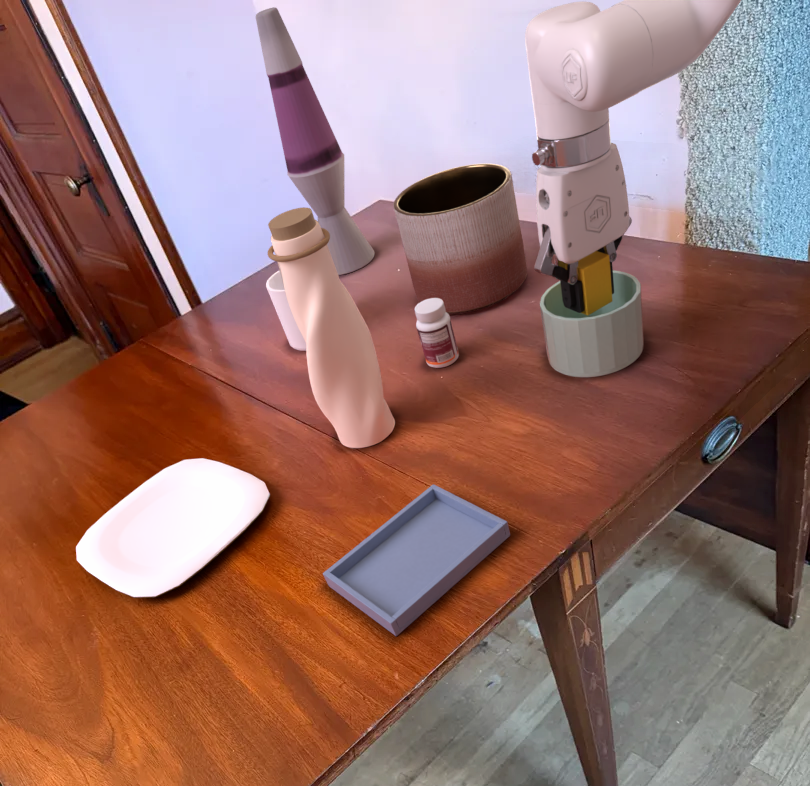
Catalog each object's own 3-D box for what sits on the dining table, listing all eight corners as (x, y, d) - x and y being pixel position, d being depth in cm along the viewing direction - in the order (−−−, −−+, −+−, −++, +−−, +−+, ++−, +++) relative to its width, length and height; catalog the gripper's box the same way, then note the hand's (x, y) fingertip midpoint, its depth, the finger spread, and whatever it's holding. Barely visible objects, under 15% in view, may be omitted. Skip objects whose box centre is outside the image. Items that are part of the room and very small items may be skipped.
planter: (512, 251, 124) (496, 152, 114) (542, 294, 111) (526, 187, 100) (410, 284, 125) (385, 188, 115) (427, 331, 112) (400, 228, 102)
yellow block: (590, 292, 94) (586, 247, 90) (612, 301, 92) (609, 254, 88) (566, 307, 94) (560, 261, 89) (587, 316, 91) (583, 269, 87)
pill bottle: (434, 349, 108) (420, 296, 102) (464, 350, 105) (451, 295, 100) (420, 368, 105) (405, 314, 99) (451, 369, 103) (437, 314, 97)
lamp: (318, 281, 136) (227, 28, 110) (321, 257, 144) (237, 15, 117) (374, 266, 134) (296, 5, 108) (375, 243, 142) (302, -7, 116)
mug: (331, 351, 116) (309, 289, 109) (279, 352, 120) (254, 293, 113) (364, 308, 123) (345, 249, 116) (313, 311, 128) (292, 254, 121)
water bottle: (314, 436, 100) (227, 231, 81) (363, 400, 103) (290, 195, 84) (362, 460, 93) (279, 242, 74) (412, 420, 96) (345, 203, 78)
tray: (437, 497, 84) (433, 483, 83) (510, 535, 77) (507, 521, 75) (328, 586, 78) (322, 573, 77) (396, 636, 71) (390, 623, 70)
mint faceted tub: (643, 321, 99) (641, 264, 93) (643, 372, 91) (640, 312, 85) (552, 332, 103) (544, 277, 97) (544, 381, 95) (535, 325, 89)
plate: (63, 559, 94) (56, 550, 93) (191, 457, 104) (186, 447, 103) (157, 621, 81) (150, 611, 80) (293, 497, 91) (288, 487, 90)
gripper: (535, 181, 75) (556, 340, 88) (658, 117, 79) (662, 278, 92) (491, 171, 81) (517, 322, 93) (608, 111, 85) (618, 264, 97)
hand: (588, 299), depth 92 cm, fingers closed on yellow block, 4 cm apart
